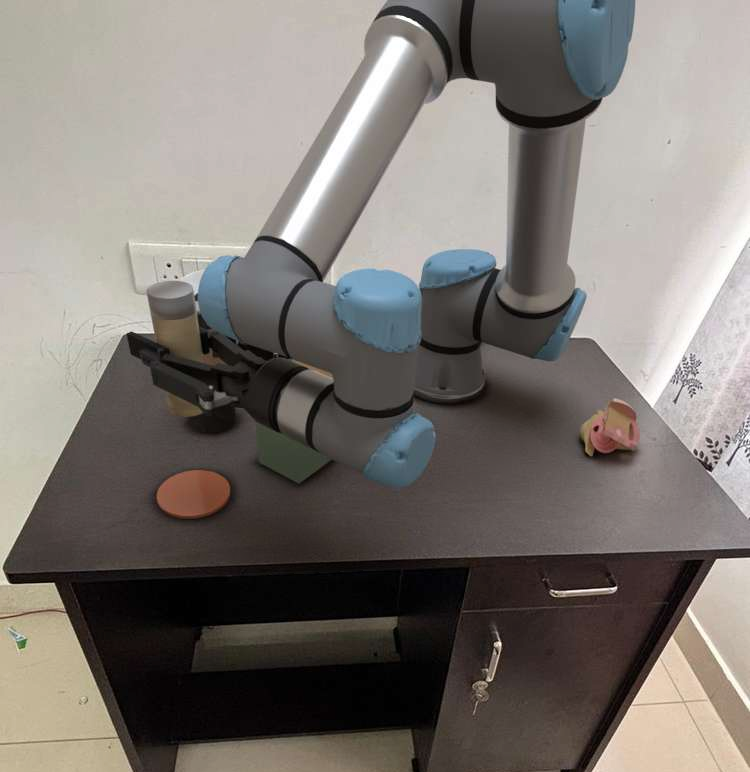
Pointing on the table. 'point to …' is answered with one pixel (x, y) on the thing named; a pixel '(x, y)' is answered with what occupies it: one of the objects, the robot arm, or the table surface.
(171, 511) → the coaster
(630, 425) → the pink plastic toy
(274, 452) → the box
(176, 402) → the pepper mill
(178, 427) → the table surface
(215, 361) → the travel mug
